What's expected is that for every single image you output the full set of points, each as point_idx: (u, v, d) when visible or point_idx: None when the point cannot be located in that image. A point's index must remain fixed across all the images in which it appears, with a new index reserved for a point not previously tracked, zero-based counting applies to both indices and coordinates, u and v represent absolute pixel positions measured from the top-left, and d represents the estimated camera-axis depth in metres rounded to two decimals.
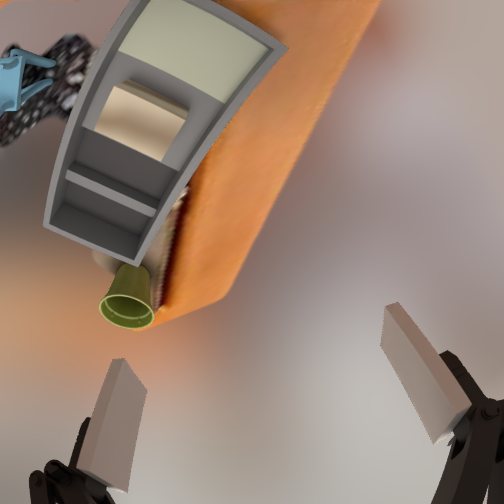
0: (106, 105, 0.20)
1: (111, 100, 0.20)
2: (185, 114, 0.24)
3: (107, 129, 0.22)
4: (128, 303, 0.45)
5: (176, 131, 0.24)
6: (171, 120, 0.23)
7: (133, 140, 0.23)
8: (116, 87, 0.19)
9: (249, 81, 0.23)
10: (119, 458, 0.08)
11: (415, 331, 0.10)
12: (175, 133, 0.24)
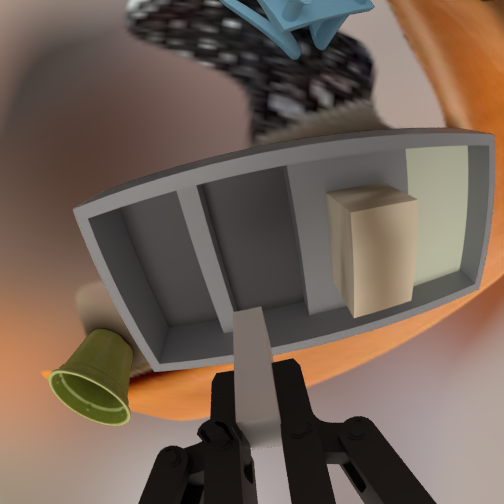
0: (392, 207, 0.15)
1: (401, 209, 0.15)
2: None
3: (362, 232, 0.16)
4: None
5: (396, 303, 0.18)
6: (406, 290, 0.18)
7: (364, 274, 0.17)
8: (417, 203, 0.15)
9: (447, 296, 0.21)
10: None
11: (260, 335, 0.12)
12: (394, 304, 0.18)
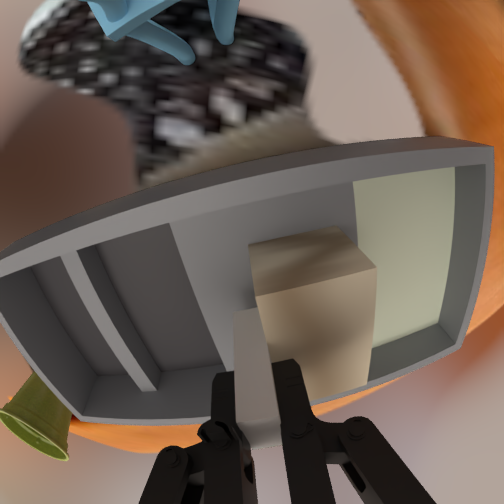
0: (329, 283, 0.10)
1: (346, 285, 0.10)
2: None
3: (278, 320, 0.11)
4: None
5: (344, 390, 0.14)
6: (357, 376, 0.13)
7: None
8: (375, 272, 0.10)
9: (414, 364, 0.17)
10: None
11: (260, 335, 0.12)
12: (340, 391, 0.14)
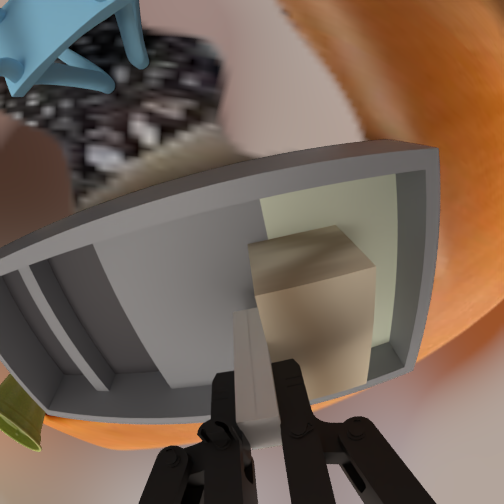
0: (329, 282, 0.10)
1: (345, 284, 0.10)
2: None
3: (278, 319, 0.11)
4: None
5: (344, 389, 0.14)
6: (357, 375, 0.13)
7: None
8: (374, 272, 0.10)
9: None
10: None
11: (260, 335, 0.12)
12: (340, 390, 0.14)
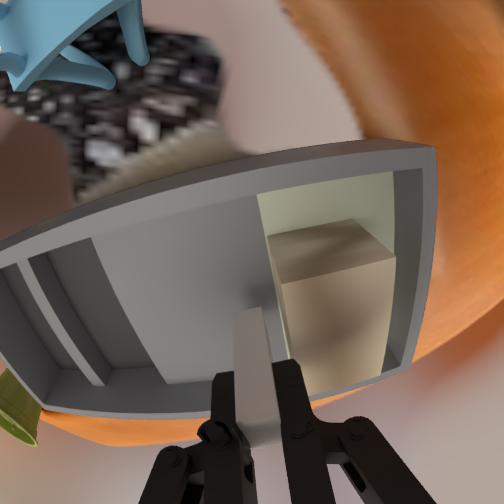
0: (352, 271, 0.11)
1: (367, 274, 0.11)
2: None
3: (302, 308, 0.11)
4: None
5: (359, 380, 0.14)
6: (372, 366, 0.13)
7: (309, 356, 0.12)
8: (394, 262, 0.11)
9: None
10: None
11: (260, 335, 0.12)
12: (355, 381, 0.14)
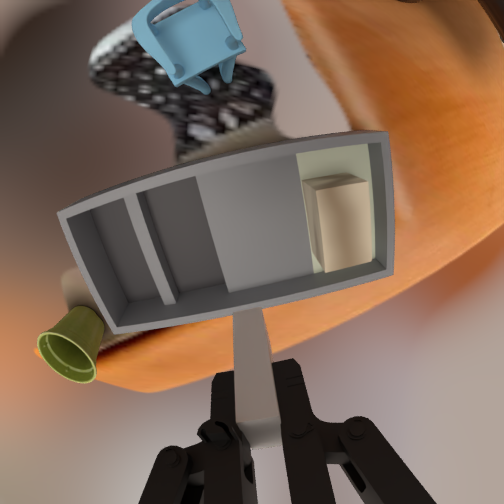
0: (347, 186, 0.22)
1: (355, 188, 0.22)
2: None
3: (325, 204, 0.23)
4: (64, 343, 0.32)
5: (359, 262, 0.25)
6: (366, 252, 0.25)
7: (329, 237, 0.24)
8: (367, 184, 0.22)
9: (353, 279, 0.29)
10: None
11: (260, 335, 0.12)
12: (357, 263, 0.25)
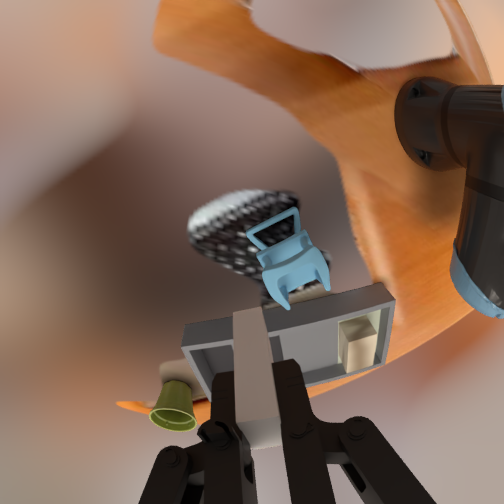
0: (365, 338, 0.39)
1: (369, 338, 0.39)
2: None
3: (352, 347, 0.39)
4: None
5: (365, 367, 0.42)
6: (370, 362, 0.41)
7: (351, 359, 0.40)
8: (376, 334, 0.39)
9: (361, 369, 0.45)
10: None
11: (260, 335, 0.12)
12: (364, 367, 0.42)
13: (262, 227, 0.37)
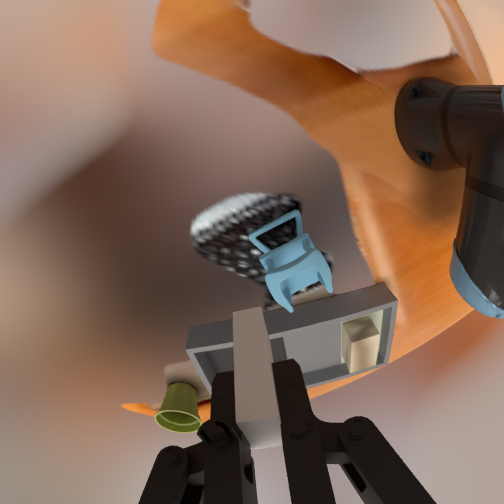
0: (368, 338, 0.39)
1: (372, 338, 0.39)
2: None
3: (355, 347, 0.39)
4: None
5: (368, 366, 0.42)
6: (373, 362, 0.42)
7: (354, 359, 0.41)
8: (379, 334, 0.39)
9: (364, 369, 0.45)
10: None
11: (260, 335, 0.12)
12: (367, 367, 0.42)
13: (264, 230, 0.37)
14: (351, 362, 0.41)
